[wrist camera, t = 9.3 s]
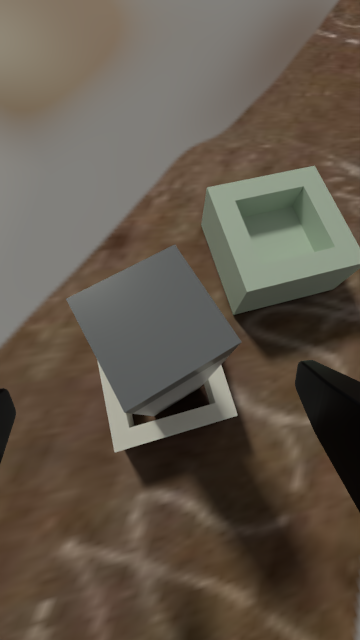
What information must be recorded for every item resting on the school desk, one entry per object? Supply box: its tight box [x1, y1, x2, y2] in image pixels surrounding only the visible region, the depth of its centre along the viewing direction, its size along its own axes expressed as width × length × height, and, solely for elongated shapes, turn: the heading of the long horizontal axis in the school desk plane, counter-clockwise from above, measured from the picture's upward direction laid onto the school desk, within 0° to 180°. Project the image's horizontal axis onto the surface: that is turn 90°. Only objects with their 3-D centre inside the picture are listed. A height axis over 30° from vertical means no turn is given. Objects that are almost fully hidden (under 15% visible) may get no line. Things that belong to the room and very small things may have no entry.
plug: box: [66, 245, 241, 416], centre depth 13 cm, size 4×4×12 cm
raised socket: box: [201, 166, 360, 315], centre depth 20 cm, size 8×8×4 cm
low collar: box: [98, 362, 238, 452], centre depth 18 cm, size 7×7×2 cm
